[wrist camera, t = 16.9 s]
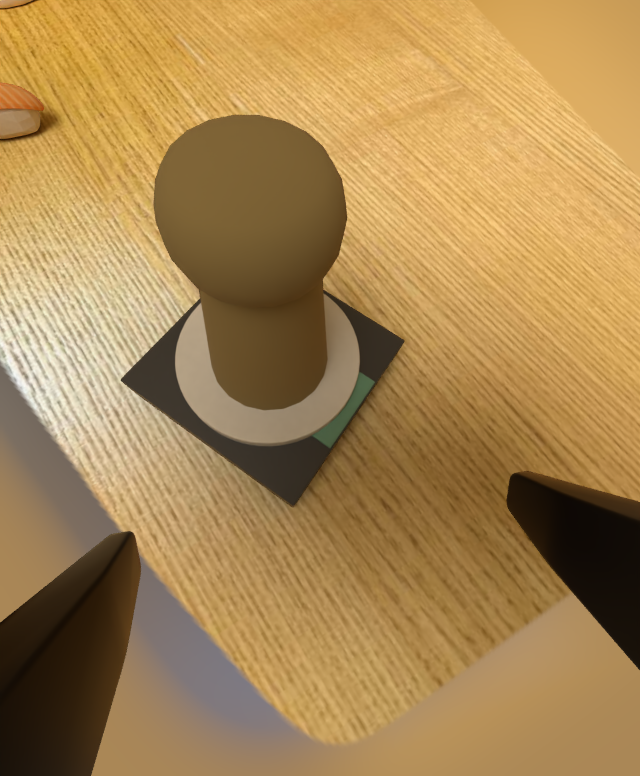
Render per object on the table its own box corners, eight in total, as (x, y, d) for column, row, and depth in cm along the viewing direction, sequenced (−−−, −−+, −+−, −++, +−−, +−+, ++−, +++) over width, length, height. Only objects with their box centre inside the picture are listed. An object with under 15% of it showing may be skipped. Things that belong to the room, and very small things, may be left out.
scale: (394, 356, 23) (409, 333, 20) (292, 507, 19) (293, 506, 16) (255, 268, 24) (251, 235, 21) (136, 393, 21) (112, 374, 18)
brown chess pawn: (350, 350, 19) (421, 157, 9) (275, 435, 17) (256, 313, 7) (265, 286, 20) (242, 44, 10) (185, 359, 18) (54, 156, 8)
